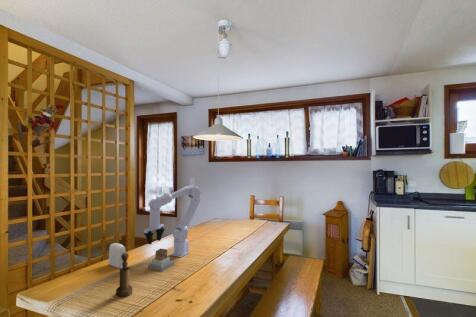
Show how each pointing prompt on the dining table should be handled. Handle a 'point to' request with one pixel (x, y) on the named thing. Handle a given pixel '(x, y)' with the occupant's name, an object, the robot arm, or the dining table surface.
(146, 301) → the dining table surface
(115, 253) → the photo printer
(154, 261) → the tower top slab
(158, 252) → the walnut cube
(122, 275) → the mortar and pestle
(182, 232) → the robot arm
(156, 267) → the tower base slab
